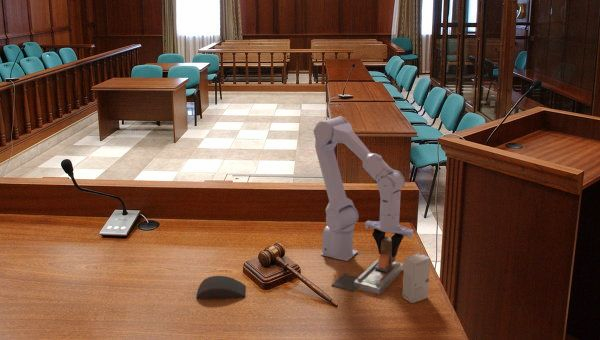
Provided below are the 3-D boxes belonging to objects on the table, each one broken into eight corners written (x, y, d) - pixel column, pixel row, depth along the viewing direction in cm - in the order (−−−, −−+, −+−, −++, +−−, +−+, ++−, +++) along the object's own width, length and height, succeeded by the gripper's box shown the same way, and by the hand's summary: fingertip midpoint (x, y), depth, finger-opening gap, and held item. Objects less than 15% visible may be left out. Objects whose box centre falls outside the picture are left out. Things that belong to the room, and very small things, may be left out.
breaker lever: (374, 268, 182) (374, 257, 180) (379, 263, 185) (380, 252, 184) (387, 271, 180) (387, 260, 179) (392, 266, 183) (392, 255, 182)
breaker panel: (353, 288, 175) (353, 279, 174) (378, 263, 190) (379, 255, 189) (379, 295, 171) (379, 286, 170) (403, 269, 186) (403, 261, 185)
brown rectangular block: (380, 261, 184) (381, 239, 182) (384, 257, 187) (385, 235, 185) (391, 264, 182) (392, 242, 180) (395, 260, 185) (396, 237, 183)
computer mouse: (198, 287, 176) (197, 274, 175) (246, 286, 177) (245, 273, 176) (195, 301, 169) (194, 288, 167) (245, 300, 169) (244, 287, 168)
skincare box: (412, 303, 167) (415, 263, 163) (401, 297, 170) (403, 257, 167) (428, 297, 170) (431, 258, 166) (417, 291, 174) (420, 252, 170)
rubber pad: (331, 285, 176) (331, 284, 176) (344, 274, 183) (344, 273, 183) (353, 291, 173) (353, 290, 173) (365, 280, 180) (365, 279, 179)
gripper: (418, 212, 179) (415, 254, 184) (372, 203, 186) (371, 244, 191) (409, 220, 174) (406, 263, 178) (362, 211, 181) (361, 252, 185)
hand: (387, 254), depth 184 cm, fingers closed on brown rectangular block, 3 cm apart
